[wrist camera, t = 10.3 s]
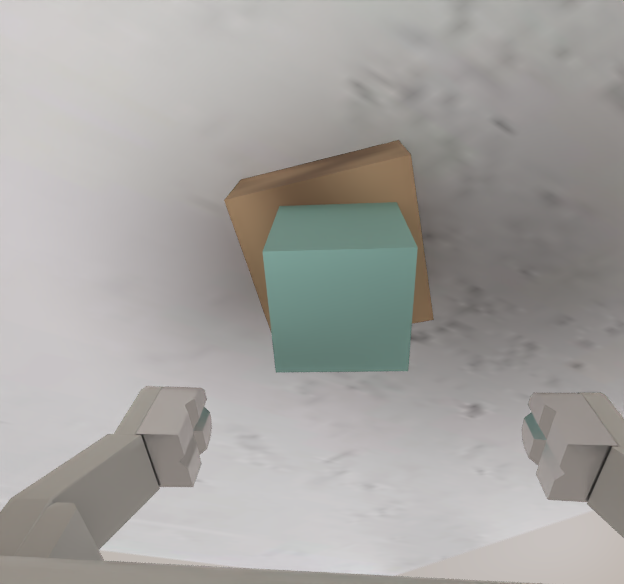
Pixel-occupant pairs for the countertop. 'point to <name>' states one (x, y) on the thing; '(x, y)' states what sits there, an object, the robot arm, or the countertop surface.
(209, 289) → the countertop surface
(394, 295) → the teal cube
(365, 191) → the walnut slab
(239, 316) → the countertop surface
